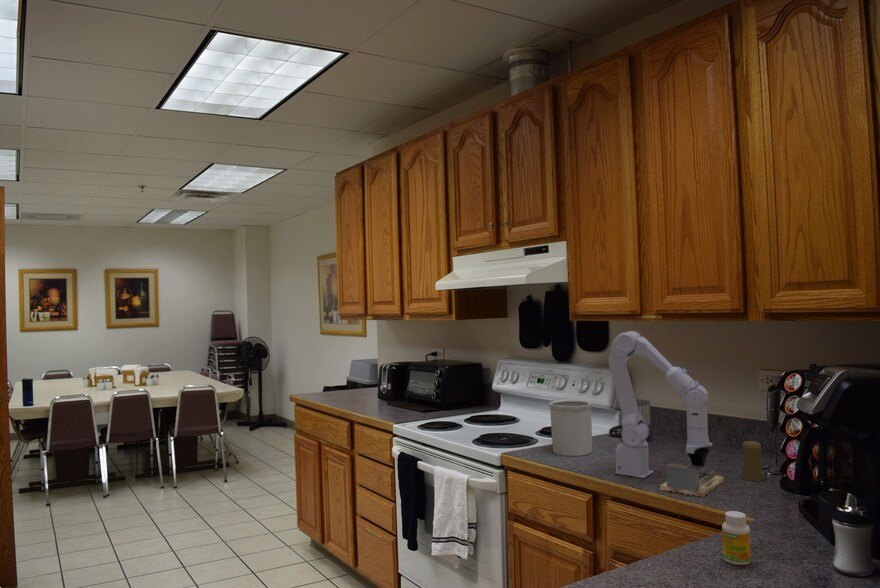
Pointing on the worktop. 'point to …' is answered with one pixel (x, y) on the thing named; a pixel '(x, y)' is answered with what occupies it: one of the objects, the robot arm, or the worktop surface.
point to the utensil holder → (571, 427)
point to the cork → (752, 461)
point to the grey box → (682, 477)
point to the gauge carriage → (701, 471)
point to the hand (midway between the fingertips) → (698, 472)
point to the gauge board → (705, 485)
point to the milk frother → (645, 412)
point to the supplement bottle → (736, 538)
